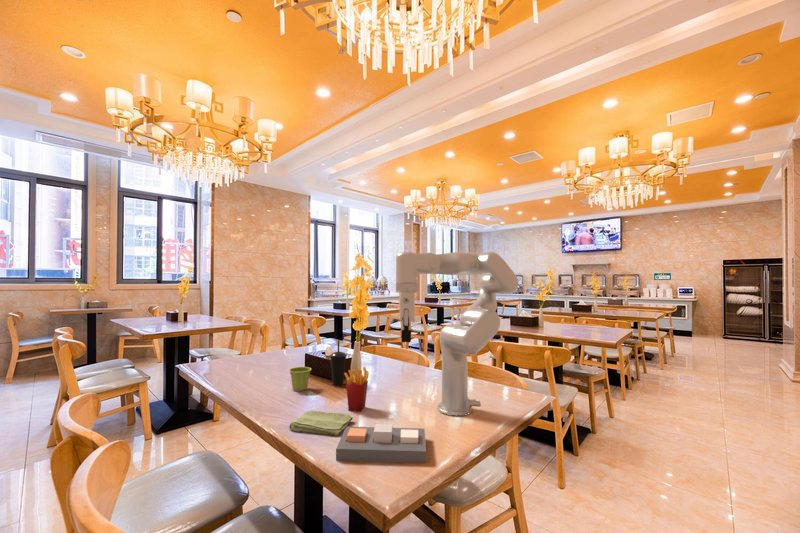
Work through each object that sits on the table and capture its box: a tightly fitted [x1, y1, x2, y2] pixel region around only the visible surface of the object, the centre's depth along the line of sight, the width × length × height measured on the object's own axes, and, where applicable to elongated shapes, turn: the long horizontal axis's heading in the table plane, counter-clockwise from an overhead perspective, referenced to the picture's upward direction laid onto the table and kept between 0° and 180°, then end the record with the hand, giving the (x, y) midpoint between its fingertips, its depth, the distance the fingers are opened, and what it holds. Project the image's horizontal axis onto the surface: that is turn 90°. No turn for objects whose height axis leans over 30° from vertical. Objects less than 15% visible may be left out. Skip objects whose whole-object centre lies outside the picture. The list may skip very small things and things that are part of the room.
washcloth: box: [288, 410, 354, 437], centre depth 114 cm, size 13×18×3 cm
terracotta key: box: [347, 428, 367, 442], centre depth 99 cm, size 5×5×3 cm
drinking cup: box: [329, 340, 348, 387], centre depth 159 cm, size 8×8×20 cm
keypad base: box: [335, 426, 427, 463], centre depth 99 cm, size 24×14×3 cm, turn 88°
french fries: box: [344, 366, 369, 413], centre depth 130 cm, size 9×8×15 cm
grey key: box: [374, 423, 394, 443], centre depth 99 cm, size 5×5×3 cm
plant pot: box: [288, 366, 312, 392], centre depth 151 cm, size 9×9×9 cm
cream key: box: [400, 429, 418, 444], centre depth 98 cm, size 5×5×3 cm
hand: (406, 341), depth 118 cm, fingers closed
